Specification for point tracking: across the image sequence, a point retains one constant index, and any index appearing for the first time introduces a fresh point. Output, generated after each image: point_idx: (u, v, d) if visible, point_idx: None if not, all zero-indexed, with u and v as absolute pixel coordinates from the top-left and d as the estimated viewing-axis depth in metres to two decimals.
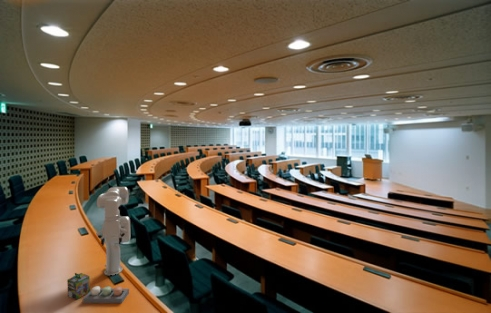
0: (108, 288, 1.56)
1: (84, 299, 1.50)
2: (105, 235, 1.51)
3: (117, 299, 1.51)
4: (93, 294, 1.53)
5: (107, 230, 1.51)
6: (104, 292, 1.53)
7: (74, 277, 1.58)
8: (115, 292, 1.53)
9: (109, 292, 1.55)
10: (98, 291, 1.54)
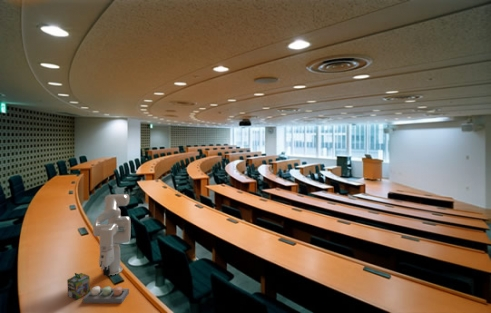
0: (108, 288, 1.56)
1: (84, 299, 1.50)
2: None
3: (117, 299, 1.51)
4: (93, 294, 1.53)
5: None
6: (104, 292, 1.53)
7: (74, 277, 1.58)
8: (115, 292, 1.53)
9: (109, 292, 1.55)
10: (98, 291, 1.54)
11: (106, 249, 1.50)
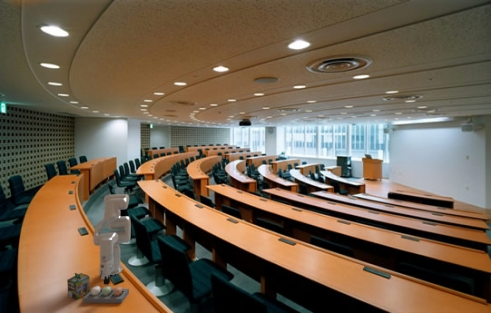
0: (108, 288, 1.56)
1: (84, 299, 1.50)
2: None
3: (117, 299, 1.51)
4: (93, 294, 1.53)
5: None
6: (104, 292, 1.53)
7: (74, 277, 1.58)
8: (115, 292, 1.53)
9: (109, 292, 1.55)
10: (98, 291, 1.54)
11: (106, 259, 1.50)
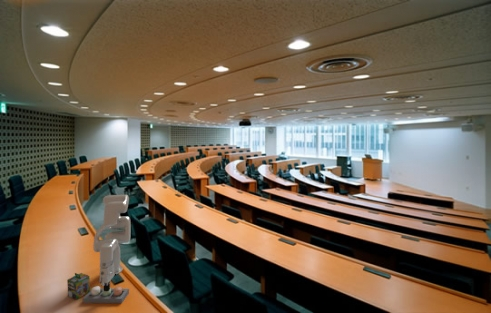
0: None
1: (84, 299, 1.50)
2: None
3: (117, 299, 1.51)
4: (93, 294, 1.53)
5: None
6: (104, 293, 1.53)
7: (74, 277, 1.58)
8: (115, 292, 1.53)
9: (109, 294, 1.55)
10: (98, 291, 1.54)
11: (106, 265, 1.51)
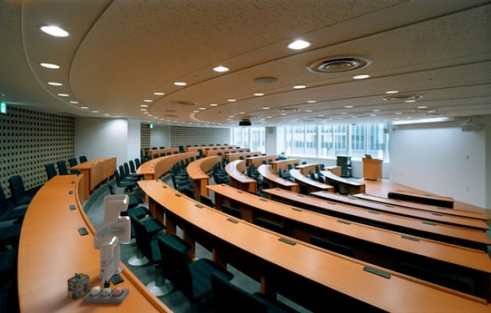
0: (108, 290, 1.56)
1: (84, 299, 1.50)
2: None
3: (117, 299, 1.51)
4: (93, 294, 1.53)
5: None
6: (104, 294, 1.53)
7: (74, 277, 1.58)
8: (115, 292, 1.53)
9: (109, 294, 1.55)
10: (98, 291, 1.54)
11: (106, 263, 1.51)
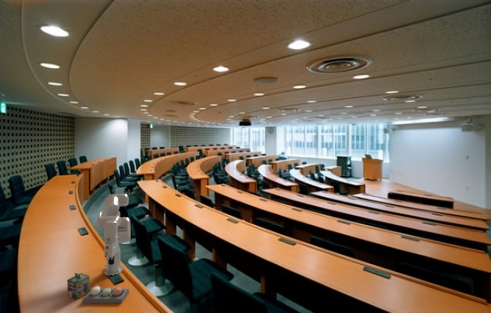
0: (108, 290, 1.56)
1: (84, 299, 1.50)
2: None
3: (117, 299, 1.51)
4: (93, 294, 1.53)
5: None
6: (104, 294, 1.53)
7: (74, 277, 1.58)
8: (115, 292, 1.53)
9: (109, 294, 1.55)
10: (98, 291, 1.54)
11: (111, 241, 1.56)
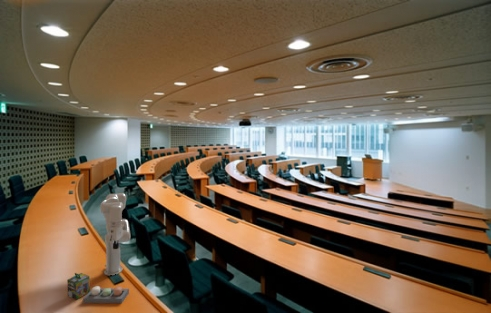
0: (108, 290, 1.56)
1: (84, 299, 1.50)
2: None
3: (117, 299, 1.51)
4: (93, 294, 1.53)
5: None
6: (104, 294, 1.53)
7: (74, 277, 1.58)
8: (115, 292, 1.53)
9: (109, 294, 1.55)
10: (98, 291, 1.54)
11: (115, 224, 1.62)
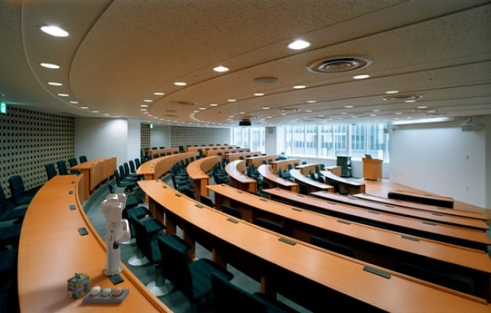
0: (108, 290, 1.56)
1: (84, 299, 1.50)
2: None
3: (117, 299, 1.51)
4: (93, 294, 1.53)
5: None
6: (104, 294, 1.53)
7: (74, 277, 1.58)
8: (115, 292, 1.53)
9: (109, 294, 1.55)
10: (98, 291, 1.54)
11: (115, 224, 1.62)
